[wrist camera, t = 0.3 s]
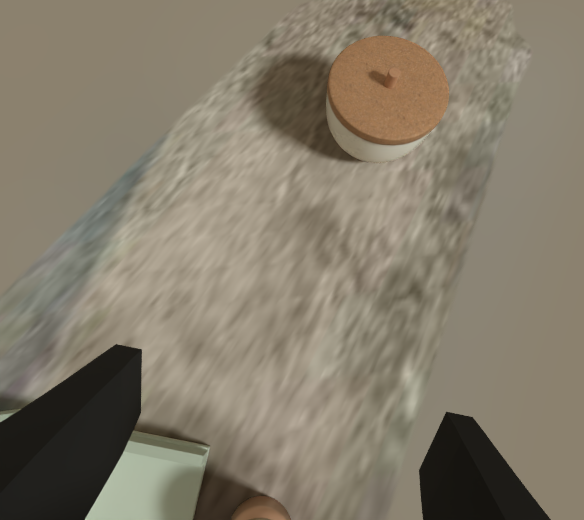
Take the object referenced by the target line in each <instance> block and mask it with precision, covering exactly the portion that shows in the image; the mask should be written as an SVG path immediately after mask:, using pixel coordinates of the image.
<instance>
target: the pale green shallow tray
mask: <svg viewBox="0 0 584 520" xmlns="http://www.w3.org/2000/svg"><path fill="white" fill-rule="evenodd" d="M19 410H21V409H15V410H7V411H0V422H1V421H3V420H5V419H6V418H8V417H10V416H11V415H13V414H14V413H16V412H18V411H19ZM209 449H210V446H208V445H203V444H198V443H193V442H188V441H183V440H178V439H173V438H168V437H163V436H158V435H153V434H149V433H144V432H139V431H134V430H133V432H132V434H131V437H130V439H129V441H128V443H127V445H126V448H125V450H124V452H123V454H122V456H121V458H120V460H119V461H118V463H117V465H116V467H115V468H114V470H113V472H112V474H111V475H110V477H109V479H108V481H107V482H106V484H105V486H104V487H103V489H102V491H101V493H100V494H99V496H98V498H97V499H96V501H95V503H94V505H93V506H92V508H91V510H90V511H89V513H88V515H87V517H86V518H85V520H193V519H194V515H195V511H196V506H197V502H198V497H199V493H200V489H201V484H202V480H203V475H204V471H205V467H206V462H207V458H208V454H209Z"/></svg>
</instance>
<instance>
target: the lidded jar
mask: <svg viewBox="0 0 584 520" xmlns="http://www.w3.org/2000/svg"><path fill="white" fill-rule="evenodd" d="M448 99H449V88H448V82H447V79H446V76H445V74H444V71H443V69H442V68H441V66H440V65H439V63H438V62H437V61H436V59H435V58H434V57H433V56H432V55H431V54H430V53H429V52H427V51H426V50H425V49H423V48H422V47H420V46H419V45H417V44H415V43H413V42H411V41H408V40H405V39H402V38H398V37H392V36H374V37H369V38H364V39H362V40H359V41H357V42H355V43H353V44H351V45H349V46H348V47H347V48H345V49H344V50H343V51H342V52H341V53H340V54H339V55H338V56H337V58H336V59H335V61H334V63H333V64H332V67H331V70H330V73H329V78H328V84H327V96H326V115H327V121H328V126H329V129H330V131H331V133H332V135H333V137H334V139H335V141H336V142H337V143H338V145H339V146H340V147H341V148H342V149H343V150H344V151H345V152H347V153H348V154H350V155H351V156H353V157H355V158H357V159H359V160H362V161H365V162H371V163H386V162H390V161H394V160H397V159H399V158H402V157H404V156H405V155H407V154H409V153H410V152H412V151H413V150H414V149H415V148H417V147H418V146H419V145H420V144H421V143H422V142H423V141H424V140H425V139H426V137H427V136H428V135H429V133H430V132H431V131H432V130H433V129H434V128H435V126H436V125H437V124H438V122H439V121H440V120H441V118H442V117H443V115H444V113H445V111H446V108H447V104H448Z"/></svg>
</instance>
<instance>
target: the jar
mask: <svg viewBox="0 0 584 520" xmlns="http://www.w3.org/2000/svg"><path fill="white" fill-rule="evenodd" d="M231 520H291V518H290V516H289V514H288V512H287V510H286V509H285V507H284V506H283V505H282V504H281V503H280V502H278V501H277V500H275V499H273V498H271V497H267V496H256V497H252V498H250V499H248V500H246V501H244V502H243V503H242V504H240V505H239V507H238V508H237V509H236V510H235V512H234V513H233V515H232V517H231Z"/></svg>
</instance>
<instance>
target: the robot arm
mask: <svg viewBox="0 0 584 520" xmlns="http://www.w3.org/2000/svg"><path fill="white" fill-rule="evenodd" d="M141 365H142V349H137V348H132V347H127V346H122V345H117V344H116V345H114V346H113V347H111V348H110V349H108V350H107V351H105V352H104V353H103V354H101V355H100V356H98V357H97V358H96V359H94V360H93V361H91V362H90V363H88V364H87V365H86V366H84V367H83V368H81V369H80V370H79V371H77V372H76V373H74V374H73V375H71V376H70V377H69V378H67V379H66V380H64V381H63V382H61V383H60V384H58V385H57V386H55V387H54V388H52V389H51V390H49V391H48V392H47V393H45V394H44V395H42V396H41V397H39V398H38V399H36V400H35V401H33V402H32V403H30V404H29V405H27V406H26V407H24V408H22V409H21V410H19V411H18V412H16V413H14V414H13V415H11V416H10V417H8V418H6V419H5V420H3V421H1V422H0V520H85V518H86V517H87V515H88V513H89V511H90V510H91V508H92V506H93V505H94V503H95V501H96V499H97V498H98V496H99V494H100V493H101V491H102V489H103V487H104V486H105V484H106V482H107V481H108V479H109V477H110V475H111V474H112V472H113V470H114V468H115V467H116V465H117V463H118V461H119V460H120V458H121V456H122V454H123V452H124V450H125V448H126V445H127V443H128V441H129V439H130V437H131V434H132V432H133V430H134V427H135V425H136V423H137V420H138V418H139V416H140V413H141ZM419 475H420V490H421V502H422V513H423V520H551V519H550V518H549V517H548V516H547V514H546V513H545V512H544V511H543V509H542V508H541V507H540V506H539V504H538V503H537V502H536V500H535V499H534V498H533V497H532V495H531V494H530V493H529V492H528V490H527V489H526V488H525V486H524V485H523V484H522V482H521V481H520V480H519V478H518V477H517V476H516V475H515V473H514V472H513V470H512V469H511V468H510V467H509V465H508V464H507V462H506V461H505V460H504V458H503V457H502V456H501V454H500V453H499V452H498V450H497V449H496V448H495V446H494V445H493V444H492V442H491V441H490V440H489V438H488V437H487V435H486V434H485V433H484V431H483V430H482V429H481V428H480V426H479V425H478V424H477V422H476V421H475V420H474V419H473V417H469V416H464V415H459V414H454V413H450V412H446V414H445V416H444V418H443V420H442V422H441V424H440V426H439V429H438V431H437V433H436V435H435V437H434V440H433V442H432V444H431V446H430V448H429V450H428V452H427V454H426V457H425V459H424V461H423V463H422V465H421V468H420V470H419Z"/></svg>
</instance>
